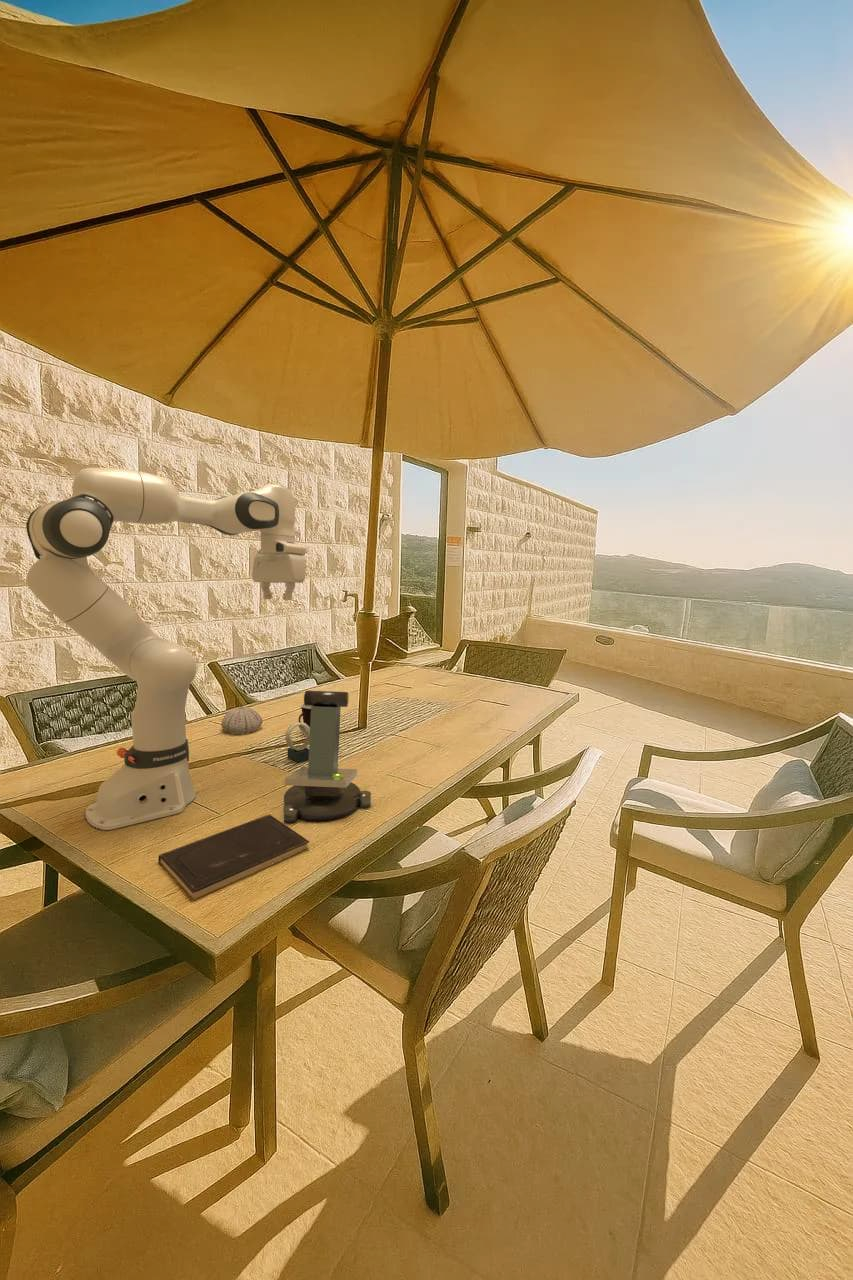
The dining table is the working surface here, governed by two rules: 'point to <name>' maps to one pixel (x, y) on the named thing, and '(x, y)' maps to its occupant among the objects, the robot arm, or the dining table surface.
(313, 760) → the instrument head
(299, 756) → the watch
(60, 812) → the dining table surface
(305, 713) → the coffee mug
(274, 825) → the hardcover book
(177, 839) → the dining table surface
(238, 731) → the sea urchin shell
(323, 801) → the tribrach base
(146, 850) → the dining table surface
